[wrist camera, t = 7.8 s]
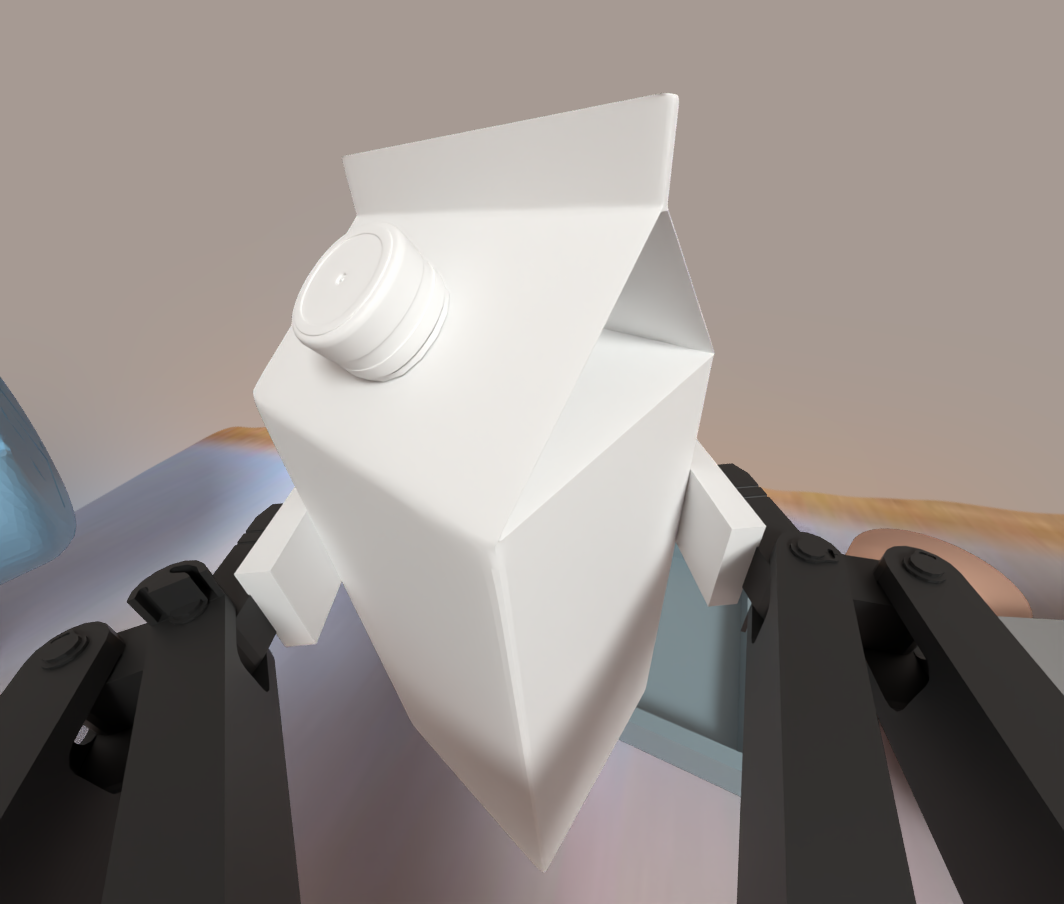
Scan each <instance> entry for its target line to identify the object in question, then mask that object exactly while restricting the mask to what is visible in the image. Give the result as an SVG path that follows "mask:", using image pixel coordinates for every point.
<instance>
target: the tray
mask: <svg viewBox="0 0 1064 904" xmlns="http://www.w3.org/2000/svg"><path fill="white" fill-rule="evenodd" d="M750 605H751V601H750V599H749V598H748V596H747V594H746V593H745V591H744V590H742V593H741V595H740V598H739V601H738V603H737V604H730V605H720V606H709V607H708V605H707V603H706V601H705V599H704V597H703V595H702V593H701V591H700V589H699V587H698V585H697V583H696V581H695V579H694V577H693V575H692V573H691V571H690V569H689V567H688V565H687V563H686V561H685V559H684V557H683V555H682V553H681V551H680V549H679V547H678V545H677V543H676V542H675V547H674V552H673V557H672V562H671V567H670V571H669V576H668V581H667V586H666V591H665V596H664V601H663V606H662V611H661V616H660V621H659V626H658V631H657V635H656V640H655V645H654V650H653V655H652V660H651V665H650V670H649V675H648V680H647V685H646V689H645V691H644V693H643V695H642V697H641V699H640V701H639V702H638V704H637V706H636V708H635V710H634V712H633V713H632V715H631V717H630V719H629V721H628V723H627V724H626V726H625V728H624V730H623V732H622V734H621V735H620V737H619V740H621V741H623V742H625V743H627V744H629V745H632V746H634V747H636V748H638V749H640V750H642V751H644V752H646V753H649V754H651V755H653V756H655V757H657V758H659V759H661V760H664V761H666V762H668V763H670V764H672V765H674V766H676V767H678V768H681V769H683V770H685V771H687V772H689V773H691V774H693V775H695V776H698V777H700V778H702V779H704V780H706V781H708V782H710V783H712V784H715V785H717V786H719V787H721V788H723V789H725V790H727V791H729V792H732V793H734V794H736V795H738V796H740V797H741V781H742V754H743V727H744V701H745V674H746V647H747V630H746V632H742V631H741V628H742V625H743V623H744V620H745V618H746V615H747V613H748V610H749V608H750Z"/></svg>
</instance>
